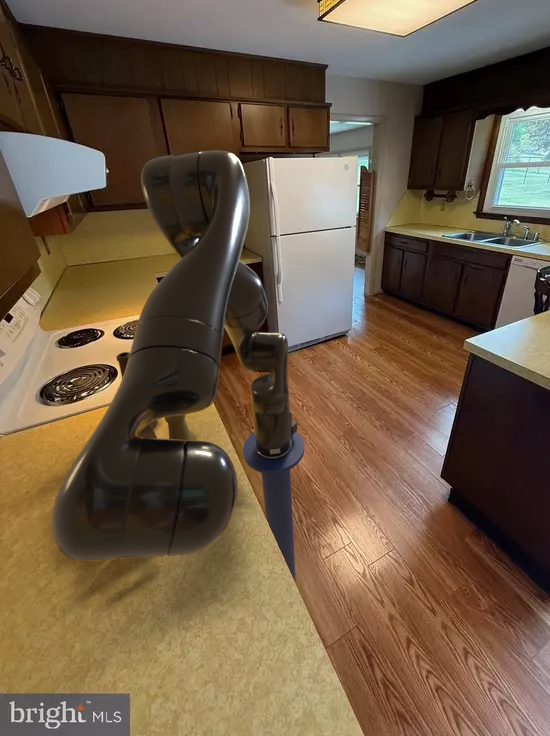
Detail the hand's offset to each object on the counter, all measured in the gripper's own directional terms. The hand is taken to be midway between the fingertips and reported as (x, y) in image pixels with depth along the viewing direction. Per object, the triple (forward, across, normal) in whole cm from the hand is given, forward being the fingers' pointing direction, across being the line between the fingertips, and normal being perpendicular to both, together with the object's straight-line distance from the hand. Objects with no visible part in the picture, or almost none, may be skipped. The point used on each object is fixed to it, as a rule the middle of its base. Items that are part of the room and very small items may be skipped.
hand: (146, 494), depth 49 cm
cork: (+39, -12, -8) cm, 42 cm away
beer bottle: (+48, -6, -17) cm, 52 cm away
